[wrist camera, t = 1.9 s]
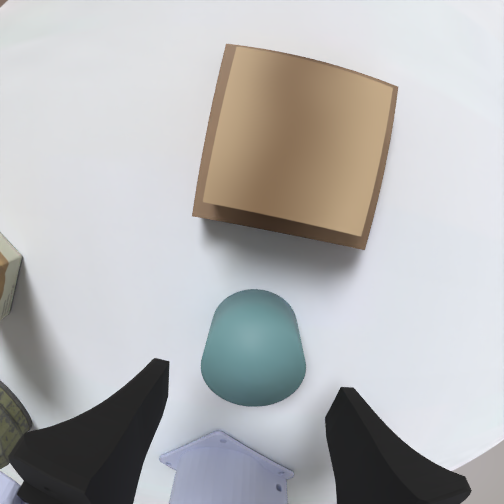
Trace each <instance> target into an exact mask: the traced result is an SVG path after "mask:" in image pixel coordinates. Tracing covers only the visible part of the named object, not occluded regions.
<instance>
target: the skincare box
mask: <svg viewBox="0 0 504 504" xmlns="http://www.w3.org/2000/svg"><path fill="white" fill-rule="evenodd" d="M21 259H22V255H21V254H20V253H19V252H18V251H17V250H16V249H15V248H14V247H13V246H12V245H11V244H10V243H9V242H8V240H7V239H6V238H5V237H4V236H3V235H2V234H1V233H0V320H1V319H3V318H4V317H6V316H7V315H8V314H9V312H10V308H11V304H12V299H13V295H14V290H15V286H16V281H17V276H18V272H19V268H20V264H21Z"/></svg>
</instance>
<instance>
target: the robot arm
mask: <svg viewBox="0 0 504 504" xmlns="http://www.w3.org/2000/svg"><path fill="white" fill-rule="evenodd" d="M168 385H169V361H165V360H161V359H157V358H154V359H153V360H152V361H151V362H150V363H149V364H148V365H147V366H146V367H145V368H144V369H143V370H142V371H141V372H140V373H138V374H137V375H136V376H135V377H134V378H133V379H132V380H131V381H129V382H128V383H127V384H126V385H125V386H124V387H122V388H121V389H120V390H119V391H117V392H116V393H115V394H113V395H112V396H111V397H109V398H108V399H106V400H105V401H103V402H102V403H100V404H99V405H97V406H95V407H94V408H92V409H90V410H88V411H86V412H84V413H82V414H80V415H79V416H76V417H74V418H72V419H70V420H67V421H64V422H62V423H59V424H56V425H54V426H51V427H47V428H43V429H39V430H35V431H31V432H26V433H24V434H23V435H22V437H21V438H20V439H19V440H18V442H17V443H16V445H15V446H14V448H13V449H12V451H11V452H10V454H9V455H8V458H9V462H10V463H11V465H12V466H13V468H14V469H15V470H16V472H17V473H18V474H19V475H20V477H21V478H22V479H23V480H24V482H23V484H22V485H21V486H20V485H19V484H18V483H17V482H16V481H14V480H13V479H11V478H10V477H8V476H7V475H5V474H4V473H3V472H1V471H0V504H133V502H134V497H135V493H136V489H137V485H138V481H139V477H140V473H141V470H142V466H143V462H144V460H145V457H146V454H147V452H148V449H149V447H150V444H151V442H152V440H153V437H154V435H155V432H156V430H157V428H158V425H159V423H160V420H161V418H162V416H163V412H164V409H165V405H166V402H167V398H168ZM325 424H326V438H327V443H328V448H329V452H330V457H331V462H332V466H333V471H334V476H335V482H336V494H337V504H460V503H461V502H463V501H464V500H465V499H466V498H467V497H468V496H469V495H470V493H471V488H470V486H469V484H468V482H467V480H466V478H465V476H462V475H459V474H457V473H454V472H452V471H449V470H447V469H445V468H443V467H441V466H439V465H437V464H435V463H433V462H432V461H430V460H428V459H427V458H425V457H424V456H422V455H421V454H419V453H418V452H416V451H415V450H414V449H412V448H411V447H410V446H408V445H407V444H406V443H405V442H404V441H402V440H401V439H400V438H399V437H398V436H397V435H396V434H395V433H394V432H393V431H392V430H391V429H390V428H389V427H388V426H387V425H386V424H385V423H384V422H383V421H382V420H381V419H380V418H379V417H378V416H377V414H376V413H375V412H374V411H373V410H372V409H371V407H370V406H369V405H368V404H367V403H366V402H365V400H364V399H363V398H362V397H361V396H360V394H359V393H358V392H357V391H356V390H355V389H354V388H349V387H341V388H340V390H339V392H338V394H337V396H336V398H335V400H334V402H333V404H332V406H331V407H330V409H329V411H328V413H327V415H326V417H325ZM159 461H160V462H162V463H164V464H165V465H167V466H169V467H170V468H172V469H174V470H176V474H175V478H174V483H173V487H172V491H171V496H170V500H169V504H288V497H287V481H286V480H287V479H290V478H292V477H294V472H292V471H290V470H288V469H286V468H284V467H283V466H281V465H279V464H277V463H275V462H273V461H271V460H269V459H267V458H266V457H264V456H262V455H260V454H258V453H257V452H255V451H253V450H251V449H250V448H248V447H246V446H245V445H243V444H241V443H240V442H238V441H236V440H235V439H233V438H231V437H230V436H228V435H227V434H225V433H224V432H221V431H215V432H213V433H211V434H209V435H206V436H204V437H202V438H200V439H198V440H196V441H194V442H191V443H189V444H187V445H185V446H182V447H180V448H178V449H175V450H173V451H171V452H168V453H166V454H163V455H161V456H160V457H159Z"/></svg>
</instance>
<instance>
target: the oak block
mask: <svg viewBox="0 0 504 504" xmlns="http://www.w3.org/2000/svg"><path fill="white" fill-rule="evenodd" d="M392 91H393V88H392V87H390V86H387V85H385V84H382V83H379V82H377V81H374V80H371V79H368V78H366V77H363V76H360V75H357V74H354V73H351V72H348V71H345V70H341V69H338V68H335V67H331V66H328V65H324V64H321V63H317V62H313V61H309V60H305V59H301V58H297V57H293V56H288V55H283V54H279V53H274V52H268V51H263V50H257V49H251V48H244V47H236V51H235V55H234V59H233V63H232V67H231V71H230V75H229V79H228V83H227V87H226V91H225V95H224V100H223V104H222V108H221V113H220V117H219V122H218V126H217V131H216V136H215V141H214V145H213V150H212V155H211V160H210V165H209V170H208V176H207V181H206V186H205V192H204V197H203V202H205V203H210V204H215V205H220V206H226V207H231V208H236V209H240V210H245V211H250V212H255V213H260V214H264V215H269V216H274V217H278V218H283V219H288V220H292V221H297V222H301V223H306V224H310V225H314V226H319V227H323V228H327V229H331V230H336V231H340V232H344V233H348V234H352V235H356V236H361V235H362V232H363V228H364V224H365V221H366V217H367V213H368V209H369V205H370V201H371V197H372V193H373V189H374V185H375V181H376V176H377V172H378V167H379V163H380V158H381V153H382V148H383V143H384V138H385V133H386V128H387V122H388V116H389V110H390V104H391V98H392Z"/></svg>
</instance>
